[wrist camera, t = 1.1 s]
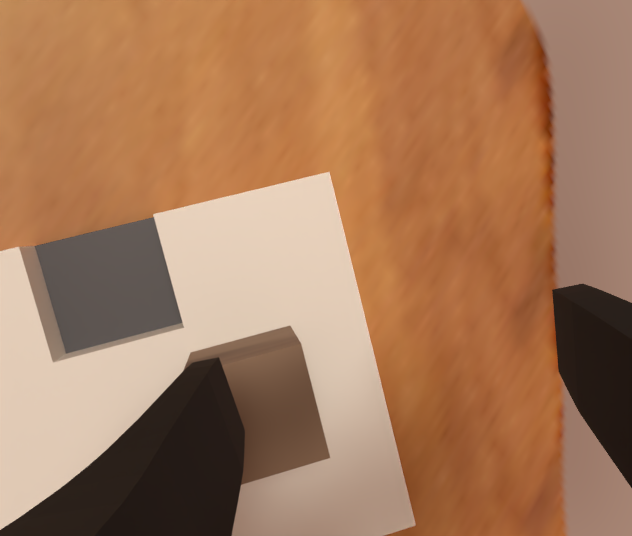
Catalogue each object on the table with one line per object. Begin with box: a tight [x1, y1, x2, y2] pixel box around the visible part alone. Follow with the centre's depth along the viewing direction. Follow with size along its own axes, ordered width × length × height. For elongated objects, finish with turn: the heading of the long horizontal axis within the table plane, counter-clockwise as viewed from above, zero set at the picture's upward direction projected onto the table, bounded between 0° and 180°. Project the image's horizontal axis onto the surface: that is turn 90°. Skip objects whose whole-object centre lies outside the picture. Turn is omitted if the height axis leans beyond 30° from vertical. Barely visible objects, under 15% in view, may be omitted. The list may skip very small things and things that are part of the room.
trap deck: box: [0, 172, 416, 536], centre depth 22 cm, size 15×26×4 cm, turn 104°
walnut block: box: [183, 326, 330, 485], centre depth 21 cm, size 4×4×4 cm
